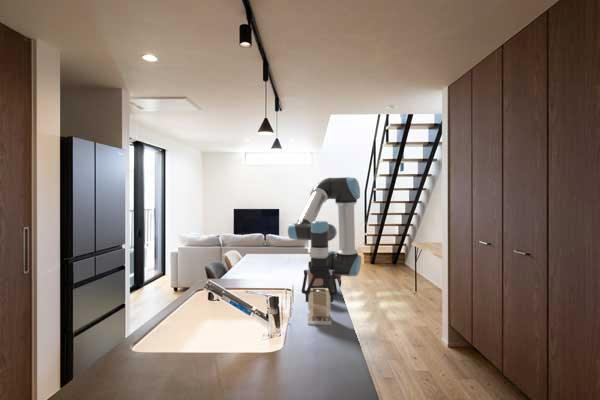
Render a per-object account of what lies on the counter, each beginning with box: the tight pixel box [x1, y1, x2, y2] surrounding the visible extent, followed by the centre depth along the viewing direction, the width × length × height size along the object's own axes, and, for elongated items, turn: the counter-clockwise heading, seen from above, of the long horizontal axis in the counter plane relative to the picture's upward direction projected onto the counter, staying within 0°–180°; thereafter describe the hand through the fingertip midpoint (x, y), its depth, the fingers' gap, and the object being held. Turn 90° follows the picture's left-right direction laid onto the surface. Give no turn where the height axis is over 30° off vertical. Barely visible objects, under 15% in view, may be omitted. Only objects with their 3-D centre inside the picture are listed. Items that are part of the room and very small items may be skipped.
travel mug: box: [307, 260, 323, 294], centre depth 190 cm, size 8×8×20 cm
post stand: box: [307, 290, 333, 326], centre depth 158 cm, size 10×10×13 cm
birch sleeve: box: [309, 288, 330, 317], centre depth 158 cm, size 8×8×10 cm
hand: (319, 309), depth 158 cm, fingers closed on birch sleeve, 8 cm apart
